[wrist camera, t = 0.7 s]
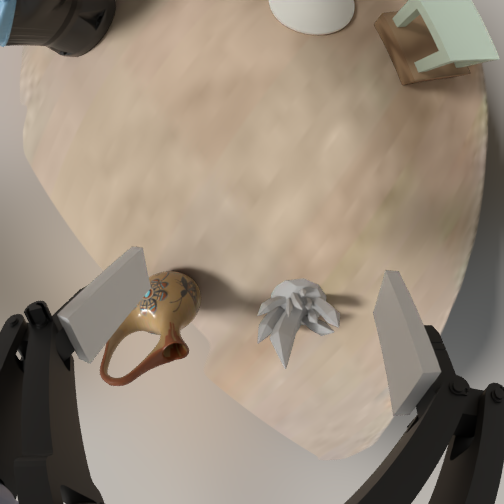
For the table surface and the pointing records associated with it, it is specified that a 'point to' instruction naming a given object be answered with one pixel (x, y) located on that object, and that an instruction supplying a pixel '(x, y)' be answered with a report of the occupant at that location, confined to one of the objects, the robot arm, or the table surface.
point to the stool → (450, 32)
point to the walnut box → (412, 49)
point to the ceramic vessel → (158, 323)
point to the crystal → (295, 314)
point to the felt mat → (313, 15)
